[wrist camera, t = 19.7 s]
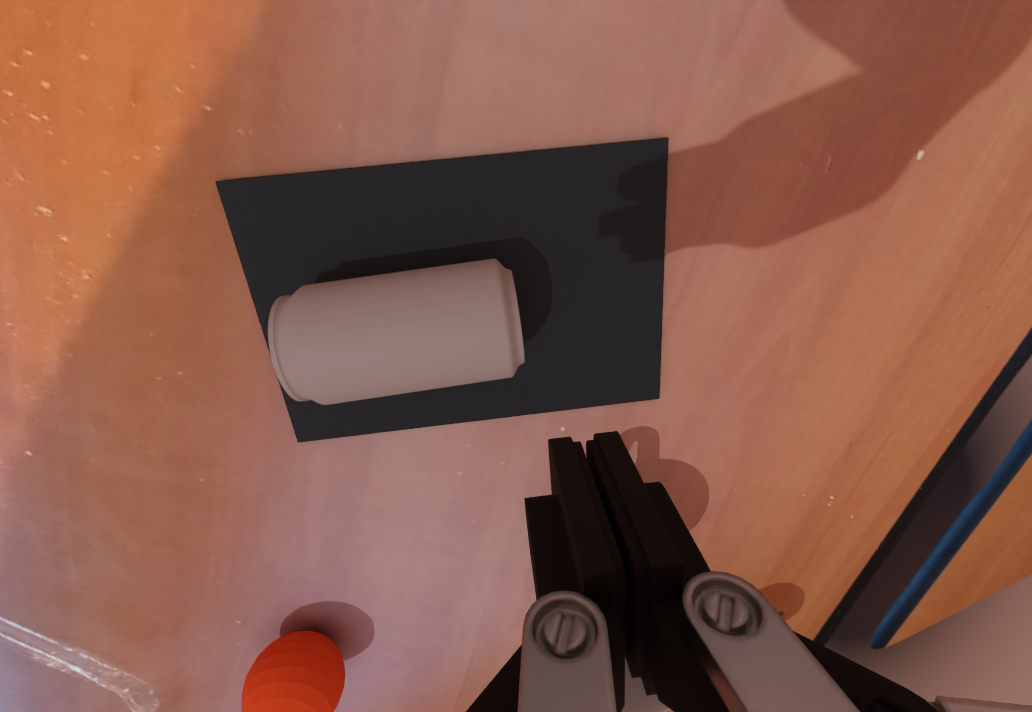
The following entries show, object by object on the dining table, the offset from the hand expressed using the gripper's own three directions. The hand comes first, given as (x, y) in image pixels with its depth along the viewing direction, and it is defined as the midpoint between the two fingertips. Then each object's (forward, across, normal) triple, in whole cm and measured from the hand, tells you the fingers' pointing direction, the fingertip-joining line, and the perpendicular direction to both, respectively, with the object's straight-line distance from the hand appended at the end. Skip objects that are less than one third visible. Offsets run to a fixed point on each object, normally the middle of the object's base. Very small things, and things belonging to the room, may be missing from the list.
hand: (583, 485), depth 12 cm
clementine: (+18, +20, +27) cm, 38 cm away
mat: (+18, +3, +1) cm, 19 cm away
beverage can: (+15, 0, +1) cm, 15 cm away
